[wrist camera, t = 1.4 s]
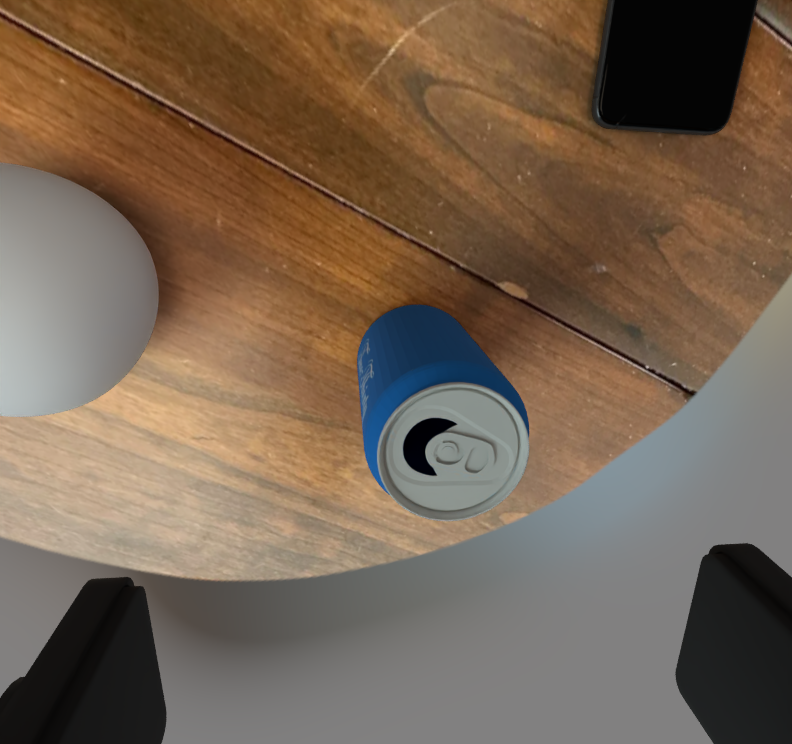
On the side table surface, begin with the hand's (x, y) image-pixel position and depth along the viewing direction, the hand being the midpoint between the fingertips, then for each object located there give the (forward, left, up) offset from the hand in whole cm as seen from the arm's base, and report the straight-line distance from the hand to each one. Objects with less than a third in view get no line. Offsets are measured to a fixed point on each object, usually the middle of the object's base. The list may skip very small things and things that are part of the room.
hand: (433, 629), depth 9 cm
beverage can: (-2, +3, -22) cm, 23 cm away
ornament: (+13, -7, -22) cm, 27 cm away
